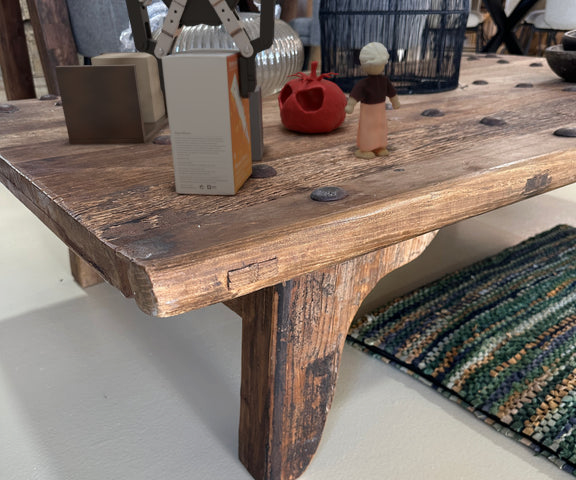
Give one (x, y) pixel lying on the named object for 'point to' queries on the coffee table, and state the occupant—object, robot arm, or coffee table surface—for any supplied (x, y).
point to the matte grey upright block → (256, 124)
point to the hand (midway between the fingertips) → (209, 97)
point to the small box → (207, 121)
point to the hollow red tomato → (312, 103)
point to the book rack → (113, 99)
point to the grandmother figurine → (372, 102)
